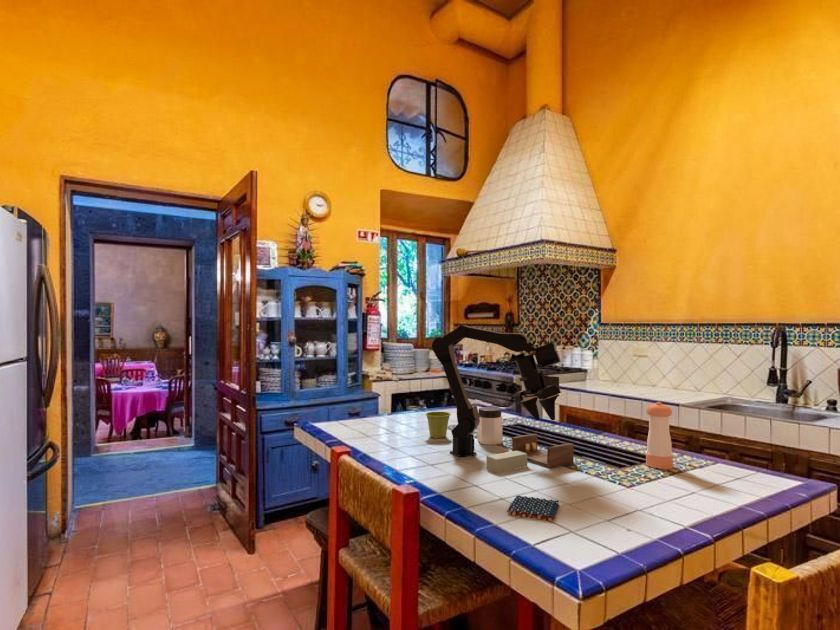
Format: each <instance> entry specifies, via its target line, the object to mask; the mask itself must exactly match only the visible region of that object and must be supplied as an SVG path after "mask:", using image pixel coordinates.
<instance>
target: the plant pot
mask: <svg viewBox="0 0 840 630" xmlns="http://www.w3.org/2000/svg"><path fill="white" fill-rule="evenodd" d="M425 416H426V419H427V425H428V431H429V437H430V436H431V437H430V438H433V437H435V438H434V439H443V438H446V437H447V433H448V424H449V420H450V417H451V412H447V411H430V412H425ZM442 437H443V438H442Z"/></svg>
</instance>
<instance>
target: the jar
mask: <svg viewBox="0 0 840 630" xmlns="http://www.w3.org/2000/svg"><path fill="white" fill-rule="evenodd" d="M478 413H479V414H480V416H481V417H480V418H479V419H480V423H479V425H478V426H477V442H478V443H480V444H481V445H487V444H488V445H489V446H496V445H500V444H502V443H503V416H502V409H501V408H500V407H493V406H481V407H479V408H478Z"/></svg>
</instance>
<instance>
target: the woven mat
mask: <svg viewBox="0 0 840 630" xmlns="http://www.w3.org/2000/svg"><path fill="white" fill-rule="evenodd" d="M559 502H560V501H559V500H554V499H546V498H539V497H534V496H532V497H531V496H529V497H528V496H526V495H525V496H524V495H519V494H518V495H515V498H514V499H513V501H512V502H511V504H510V505H509V507H508V508H507V510H506V513H507V516H512V517H516V516H517V517H518V518H521V516H522V518H526V517H527V519H531V518H532V519H535V520H536V519H537V520H539V521H540V520H542V522H543V521H544V522H545V521H546V520H547V519H548V521H549V522H552V521H553V520H555V519H556V518H555V517H556V514H557V511H558V509H559V507H560V504H559Z"/></svg>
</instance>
